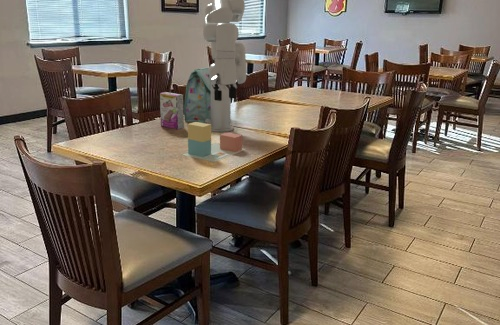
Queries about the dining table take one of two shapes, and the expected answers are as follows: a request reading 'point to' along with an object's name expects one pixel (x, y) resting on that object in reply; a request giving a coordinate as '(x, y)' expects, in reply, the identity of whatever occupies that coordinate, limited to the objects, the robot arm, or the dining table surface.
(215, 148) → the mat
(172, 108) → the candy bar box
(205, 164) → the dining table surface
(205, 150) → the tower base
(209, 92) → the lunch bag
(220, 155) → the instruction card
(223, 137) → the brick
